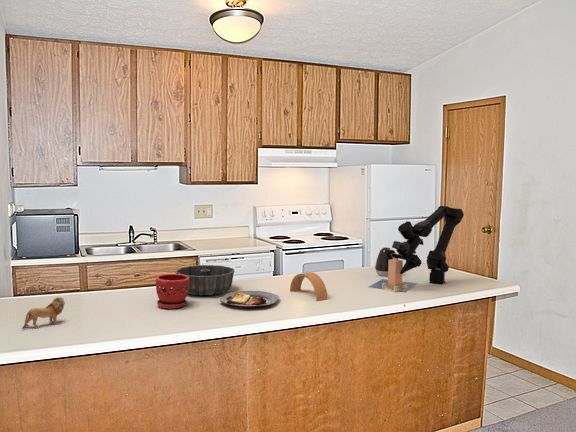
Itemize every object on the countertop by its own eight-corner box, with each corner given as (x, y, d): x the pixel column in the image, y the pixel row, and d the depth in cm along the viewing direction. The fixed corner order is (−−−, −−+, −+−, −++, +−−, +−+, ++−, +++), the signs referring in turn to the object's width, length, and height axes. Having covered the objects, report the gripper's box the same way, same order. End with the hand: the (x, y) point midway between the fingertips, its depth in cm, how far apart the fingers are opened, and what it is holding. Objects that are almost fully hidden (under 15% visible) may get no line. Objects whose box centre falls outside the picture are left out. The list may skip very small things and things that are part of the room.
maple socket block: (394, 286, 235) (394, 281, 234) (407, 289, 228) (407, 284, 228) (382, 288, 230) (382, 283, 230) (394, 292, 224) (395, 287, 223)
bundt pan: (198, 282, 241) (198, 262, 240) (245, 288, 230) (245, 267, 229) (162, 294, 218) (162, 272, 217) (212, 302, 206) (212, 278, 205)
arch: (316, 301, 209) (317, 278, 208) (289, 291, 226) (289, 270, 225) (327, 299, 213) (327, 276, 212) (300, 290, 229) (300, 268, 228)
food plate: (269, 312, 192) (269, 303, 192) (212, 309, 197) (212, 300, 197) (283, 297, 217) (283, 289, 217) (232, 294, 221) (232, 287, 221)
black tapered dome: (397, 275, 261) (398, 246, 260) (390, 279, 252) (391, 249, 251) (379, 273, 266) (380, 245, 265) (371, 276, 258) (372, 247, 256)
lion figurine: (61, 319, 182) (60, 294, 181) (68, 322, 178) (67, 297, 177) (18, 328, 170) (17, 303, 170) (25, 332, 167) (24, 306, 166)
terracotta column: (394, 286, 232) (395, 257, 231) (401, 288, 228) (402, 259, 227) (387, 287, 230) (388, 258, 228) (394, 289, 226) (395, 260, 225)
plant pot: (170, 312, 191) (170, 281, 190) (149, 306, 199) (148, 276, 198) (196, 305, 202) (196, 276, 200) (174, 299, 209) (174, 271, 208)
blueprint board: (417, 284, 241) (417, 283, 241) (405, 293, 224) (405, 292, 224) (382, 280, 250) (382, 279, 250) (367, 288, 233) (367, 287, 233)
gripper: (387, 232, 237) (370, 257, 231) (418, 237, 221) (399, 264, 216) (398, 247, 242) (381, 272, 237) (429, 253, 226) (411, 279, 221)
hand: (393, 271), depth 228 cm, fingers open, 9 cm apart
